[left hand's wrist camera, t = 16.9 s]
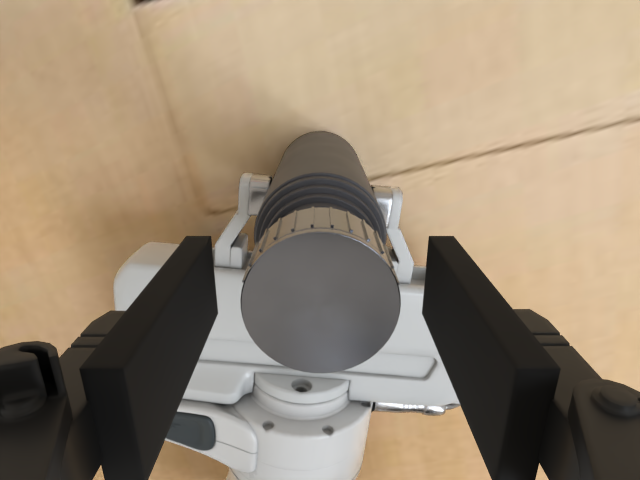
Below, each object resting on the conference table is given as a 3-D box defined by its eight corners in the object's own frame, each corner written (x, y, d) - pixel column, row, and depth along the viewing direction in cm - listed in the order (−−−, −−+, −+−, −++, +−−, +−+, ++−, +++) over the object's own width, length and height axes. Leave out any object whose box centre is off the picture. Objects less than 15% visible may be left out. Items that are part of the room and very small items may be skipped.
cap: (419, 257, 14) (437, 290, 12) (334, 355, 15) (337, 400, 13) (303, 175, 13) (300, 196, 11) (223, 286, 15) (207, 324, 12)
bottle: (318, 225, 30) (317, 401, 14) (263, 170, 29) (192, 295, 13) (376, 173, 29) (448, 301, 13) (321, 113, 27) (324, 171, 11)
